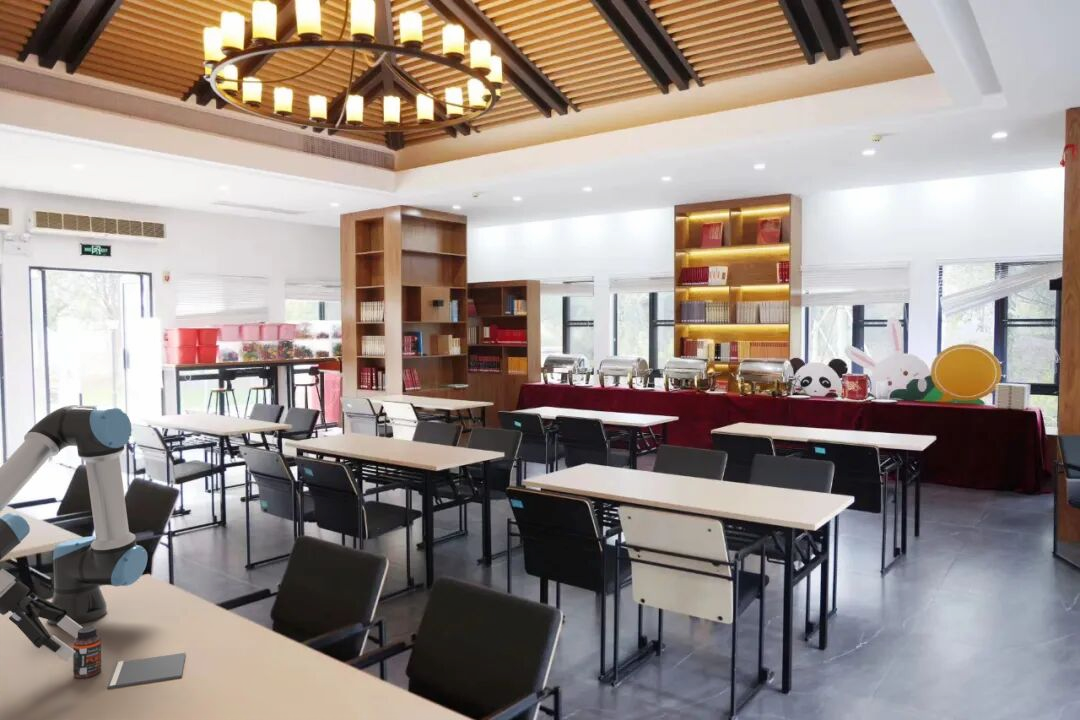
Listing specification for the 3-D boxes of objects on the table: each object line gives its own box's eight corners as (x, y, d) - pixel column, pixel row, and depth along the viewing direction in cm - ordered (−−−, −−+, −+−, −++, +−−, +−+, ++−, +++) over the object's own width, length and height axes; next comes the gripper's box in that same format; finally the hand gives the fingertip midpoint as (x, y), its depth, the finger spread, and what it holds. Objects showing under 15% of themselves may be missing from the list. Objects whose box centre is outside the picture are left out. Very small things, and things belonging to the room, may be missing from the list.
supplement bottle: (88, 680, 183) (87, 634, 183) (67, 678, 185) (66, 632, 184) (107, 669, 189) (106, 625, 189) (86, 667, 190) (85, 623, 190)
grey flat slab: (116, 664, 192) (116, 662, 192) (185, 654, 198) (185, 652, 198) (107, 688, 179) (107, 685, 179) (181, 677, 185) (181, 674, 185)
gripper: (6, 588, 190) (75, 638, 196) (-28, 623, 167) (52, 679, 173) (30, 565, 192) (98, 615, 198) (0, 597, 168) (78, 653, 174)
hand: (76, 645), depth 185 cm, fingers open, 13 cm apart
